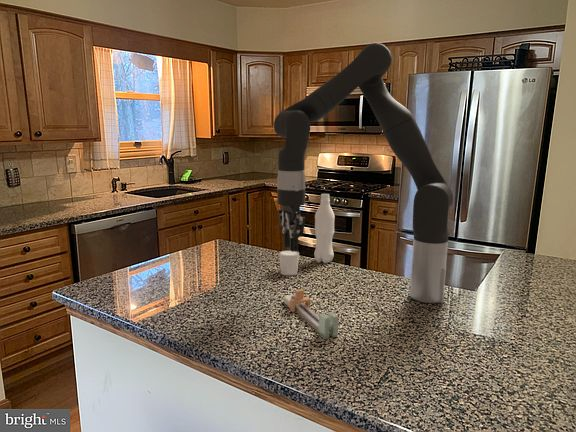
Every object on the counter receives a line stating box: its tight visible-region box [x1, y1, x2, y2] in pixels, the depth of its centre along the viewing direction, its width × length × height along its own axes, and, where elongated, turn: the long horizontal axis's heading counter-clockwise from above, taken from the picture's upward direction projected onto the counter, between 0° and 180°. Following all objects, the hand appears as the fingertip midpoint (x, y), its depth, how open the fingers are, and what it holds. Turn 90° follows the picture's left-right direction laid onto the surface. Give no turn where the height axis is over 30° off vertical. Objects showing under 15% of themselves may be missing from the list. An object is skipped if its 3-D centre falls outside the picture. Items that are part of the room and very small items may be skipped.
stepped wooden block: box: [289, 289, 311, 313], centre depth 114 cm, size 2×5×5 cm, turn 113°
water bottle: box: [313, 193, 336, 264], centre depth 155 cm, size 7×7×25 cm
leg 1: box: [295, 304, 330, 340], centre depth 106 cm, size 19×1×5 cm, turn 23°
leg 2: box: [299, 302, 339, 338], centre depth 107 cm, size 19×1×5 cm, turn 22°
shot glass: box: [278, 249, 300, 276], centre depth 144 cm, size 7×7×7 cm
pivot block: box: [283, 294, 300, 309], centre depth 118 cm, size 4×4×2 cm
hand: (290, 248), depth 118 cm, fingers open, 3 cm apart
